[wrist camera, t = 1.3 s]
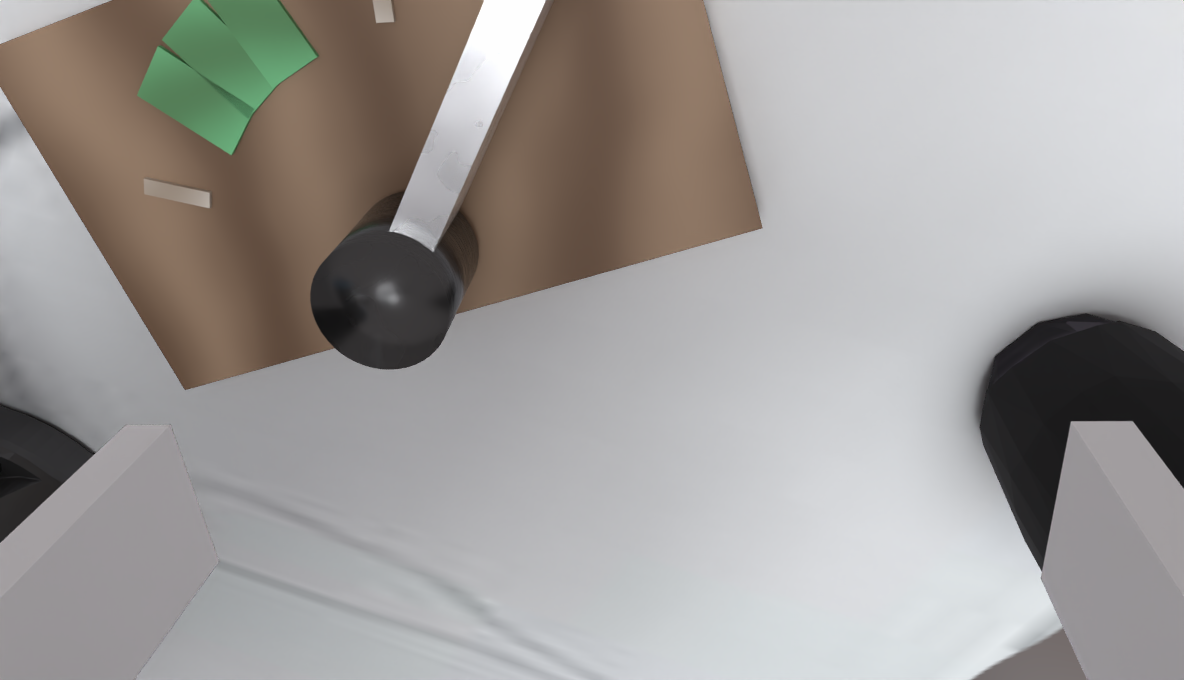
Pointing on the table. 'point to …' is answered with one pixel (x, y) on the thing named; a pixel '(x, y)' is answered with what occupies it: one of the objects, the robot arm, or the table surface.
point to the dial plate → (365, 150)
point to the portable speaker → (1076, 406)
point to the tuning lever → (426, 212)
